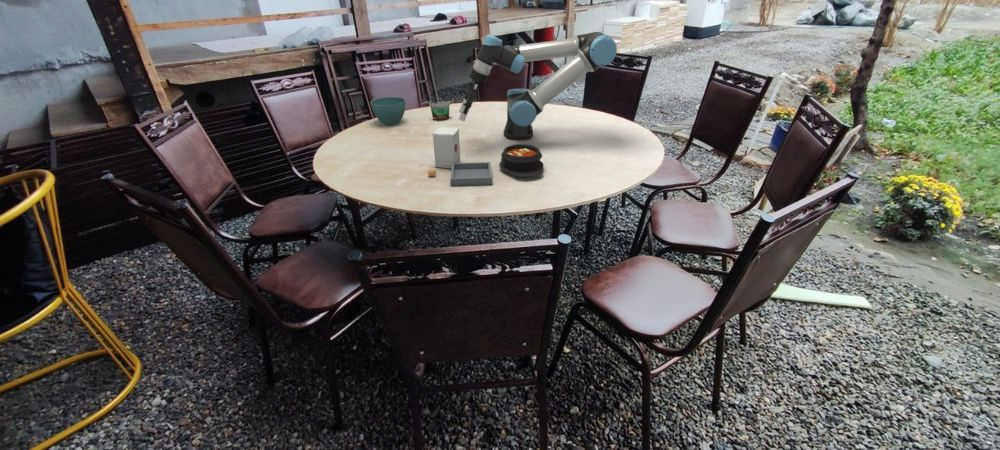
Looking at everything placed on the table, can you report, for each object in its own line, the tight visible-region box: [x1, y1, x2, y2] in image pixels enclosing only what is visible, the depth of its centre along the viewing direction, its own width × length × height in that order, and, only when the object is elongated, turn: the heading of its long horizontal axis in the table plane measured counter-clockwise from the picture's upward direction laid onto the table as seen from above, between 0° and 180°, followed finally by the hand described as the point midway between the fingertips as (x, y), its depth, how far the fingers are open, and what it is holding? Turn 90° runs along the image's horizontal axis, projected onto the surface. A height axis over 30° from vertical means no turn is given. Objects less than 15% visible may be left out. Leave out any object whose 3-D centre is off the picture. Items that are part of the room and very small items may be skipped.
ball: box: [427, 168, 437, 177], centre depth 170 cm, size 3×3×3 cm
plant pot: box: [370, 96, 406, 126], centre depth 228 cm, size 18×18×12 cm
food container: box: [428, 99, 451, 122], centre depth 234 cm, size 12×6×10 cm, turn 117°
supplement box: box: [432, 126, 461, 169], centre depth 178 cm, size 9×9×15 cm
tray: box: [450, 161, 493, 187], centre depth 169 cm, size 16×16×3 cm
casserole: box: [499, 143, 545, 178], centre depth 175 cm, size 25×19×8 cm
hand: (461, 116), depth 191 cm, fingers open, 13 cm apart
